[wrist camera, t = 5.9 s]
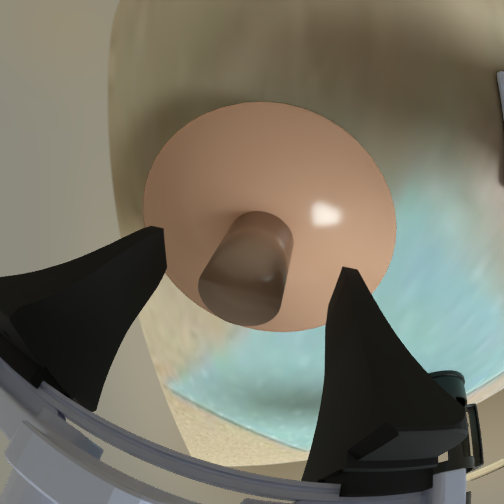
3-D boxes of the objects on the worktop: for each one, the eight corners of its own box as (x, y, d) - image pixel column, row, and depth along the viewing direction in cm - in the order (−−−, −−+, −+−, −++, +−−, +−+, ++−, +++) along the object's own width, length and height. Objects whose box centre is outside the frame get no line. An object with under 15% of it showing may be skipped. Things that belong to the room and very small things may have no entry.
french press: (380, 409, 29) (361, 571, 10) (404, 372, 24) (392, 582, 5) (453, 404, 26) (453, 550, 8) (486, 366, 21) (501, 543, 3)
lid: (436, 167, 10) (485, 213, 6) (327, 344, 18) (322, 406, 14) (167, 76, 11) (97, 82, 7) (147, 279, 18) (110, 329, 14)
